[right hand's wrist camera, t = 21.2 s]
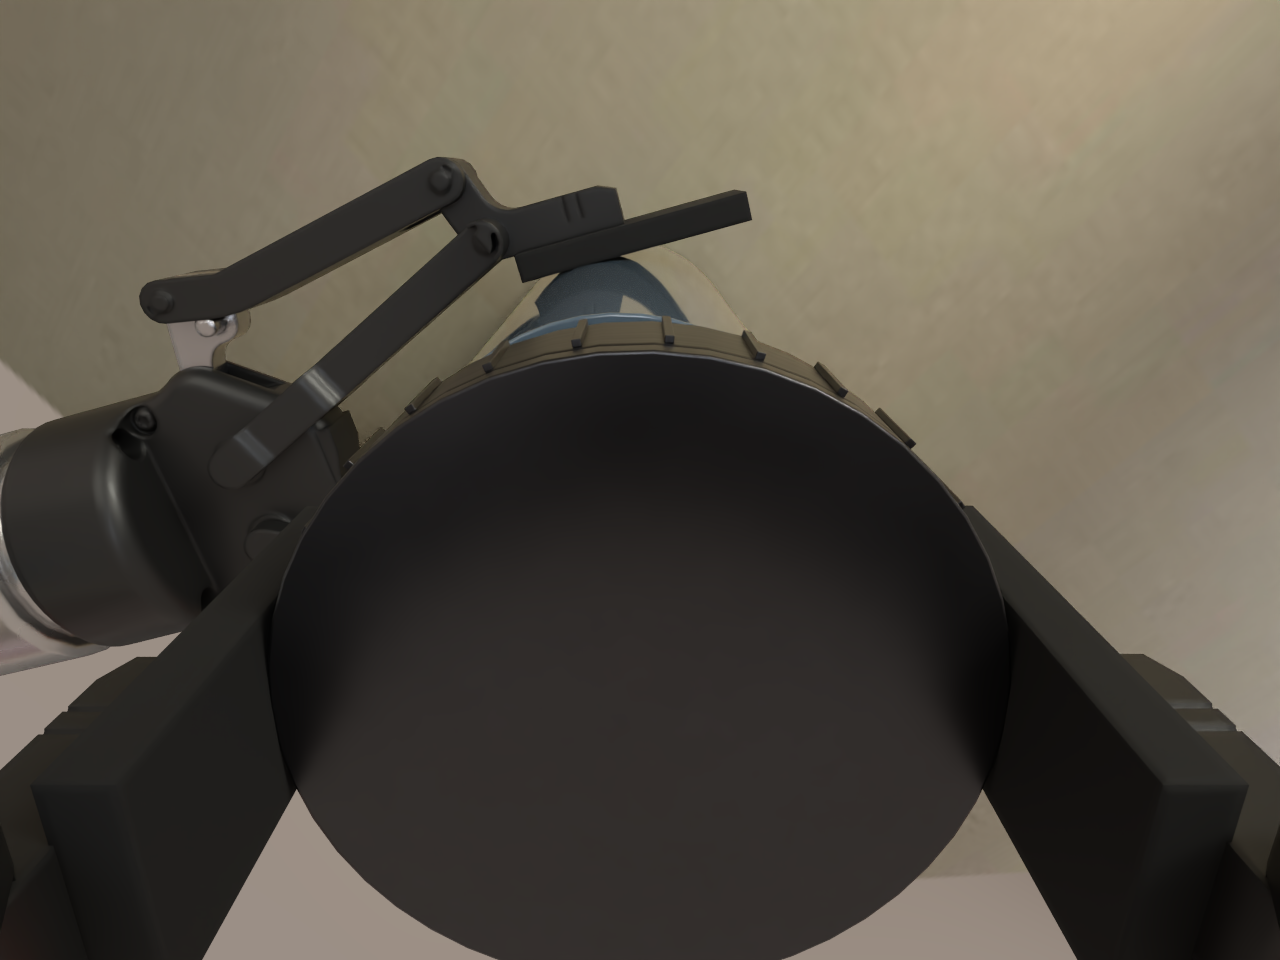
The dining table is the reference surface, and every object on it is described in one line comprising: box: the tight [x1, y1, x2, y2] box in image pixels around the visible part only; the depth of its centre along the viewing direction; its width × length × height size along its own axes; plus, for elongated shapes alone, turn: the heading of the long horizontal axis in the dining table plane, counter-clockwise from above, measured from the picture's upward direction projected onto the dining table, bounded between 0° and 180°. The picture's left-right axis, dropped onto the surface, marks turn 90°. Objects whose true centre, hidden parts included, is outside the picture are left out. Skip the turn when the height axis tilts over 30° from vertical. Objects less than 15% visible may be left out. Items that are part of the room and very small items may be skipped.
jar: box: [470, 246, 748, 364], centre depth 23 cm, size 8×8×19 cm
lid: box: [268, 316, 1011, 960], centre depth 11 cm, size 9×9×2 cm
